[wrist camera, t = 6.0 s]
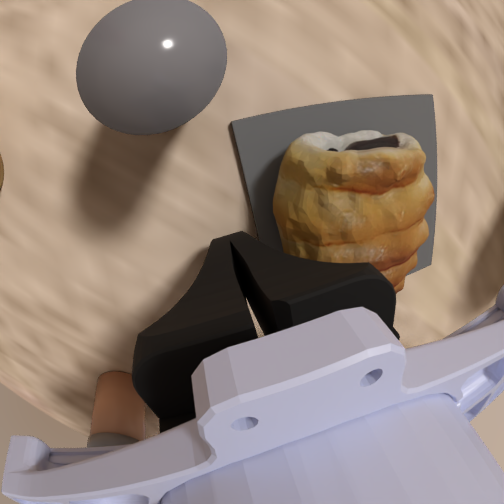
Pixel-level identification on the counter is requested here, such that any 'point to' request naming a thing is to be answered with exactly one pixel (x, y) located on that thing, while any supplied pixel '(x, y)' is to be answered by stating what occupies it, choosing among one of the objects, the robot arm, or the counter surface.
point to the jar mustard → (1, 171)
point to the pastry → (354, 200)
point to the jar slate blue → (151, 65)
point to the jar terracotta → (116, 412)
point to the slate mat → (337, 123)
